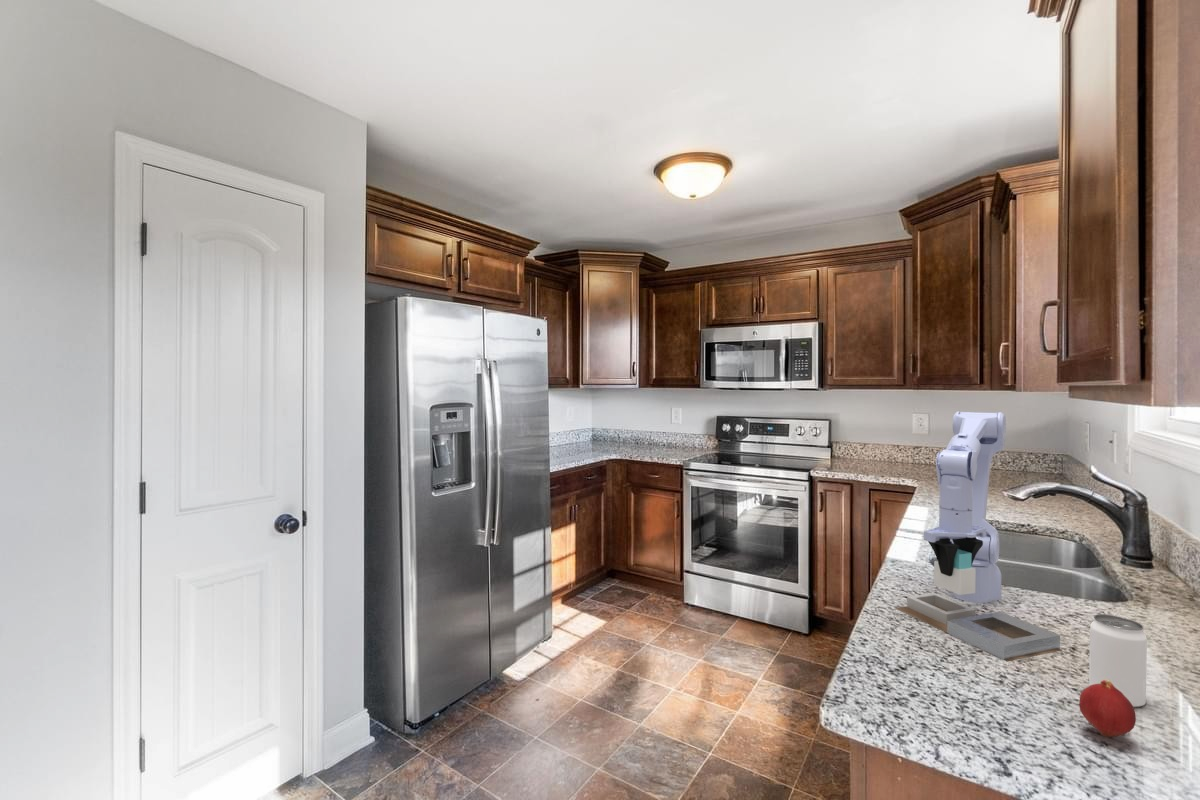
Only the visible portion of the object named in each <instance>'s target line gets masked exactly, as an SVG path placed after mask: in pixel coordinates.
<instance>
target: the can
mask: <svg viewBox="0 0 1200 800" xmlns="http://www.w3.org/2000/svg"><path fill="white" fill-rule="evenodd" d="M1093 619H1094V620H1093V621H1092V622H1091V624H1090V627H1089V628H1090V629H1089V660H1088V661H1089V667H1088V668H1089V674H1088V675H1089V677H1088V678H1089V679H1088V680H1089V681H1088V684H1089V685H1088V687H1089V686H1091V685H1093V684H1100V683H1101V681H1102V680H1108V681H1110V682H1111V683H1112V684H1113V686H1114V687H1115V688H1116V689H1118V690H1119V691H1120V692H1122V693H1123V695H1124V696H1125V697H1126V698H1127V699H1128V700H1129V701H1130V702H1131V704H1132V706H1133V708H1140V707H1142V706H1145V705H1146V701H1147V700H1146V699H1147V674H1148V673H1147V670H1148V669H1147V668H1148V667H1147V666H1148V665H1147V664H1148V663H1147V662H1148V661H1147V659H1148V657H1147V656H1148V639H1147V636H1146V634H1145V632H1144V626H1143V625H1142V624H1140V623H1139V622H1137V621H1136V620H1133V619H1129V618H1126V617H1123V616H1118V615H1114V614H1113V615H1112V614H1104V613H1100V614H1095V615H1093Z"/></svg>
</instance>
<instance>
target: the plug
mask: <svg viewBox="0 0 1200 800" xmlns="http://www.w3.org/2000/svg"><path fill="white" fill-rule="evenodd" d="M971 556H972V553H969V552H966V551H963V550H960V549H958V550H957V552H956V555H955V559H954V568H953V574H952V576H947V575H944V574H942V573H941V572H940V568H939V564H938V561H937V560H935V561H934V562H933V563H934V564H933V585H934V586H936V587H938V588H942V589H944V590H947V591H949V592H951V593H952V592H954V593H956V594H959V595H964V594H972V593H975V579H976V569H975V568H972V567H971Z"/></svg>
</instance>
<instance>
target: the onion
mask: <svg viewBox="0 0 1200 800" xmlns="http://www.w3.org/2000/svg"><path fill="white" fill-rule="evenodd" d="M1078 702H1079V703H1078V706H1079V711H1080V712H1081V714H1082V716H1083V717H1084V719H1086V721H1087V722H1088V723H1089V724H1090V725H1091V726H1092V727H1094V728H1095V729H1096V730H1097V731H1098V732H1099V734H1101V735H1102V736H1104V737H1107V738H1113V737H1118V736H1121V735H1125V734H1127V733H1129V732H1131V731H1132V730H1133V729H1134V728H1135V725H1136V722H1137V721H1136V720H1137V718H1136V710H1135V707H1133V706H1132V704H1131V702H1130V701H1129V700H1128V699H1127V698H1126V697H1125V696H1124V695H1123V693H1122V692H1120V691H1119V690H1118V689H1116V688H1115V687H1114V686H1113V684H1112V683H1111V682H1110V681H1108V680H1102V681H1101V683H1100V684H1093V685H1091V686H1089V685H1088V686H1087V687H1085V688H1084V689H1083V690H1082V691H1081V693H1080V695H1079V701H1078Z"/></svg>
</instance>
